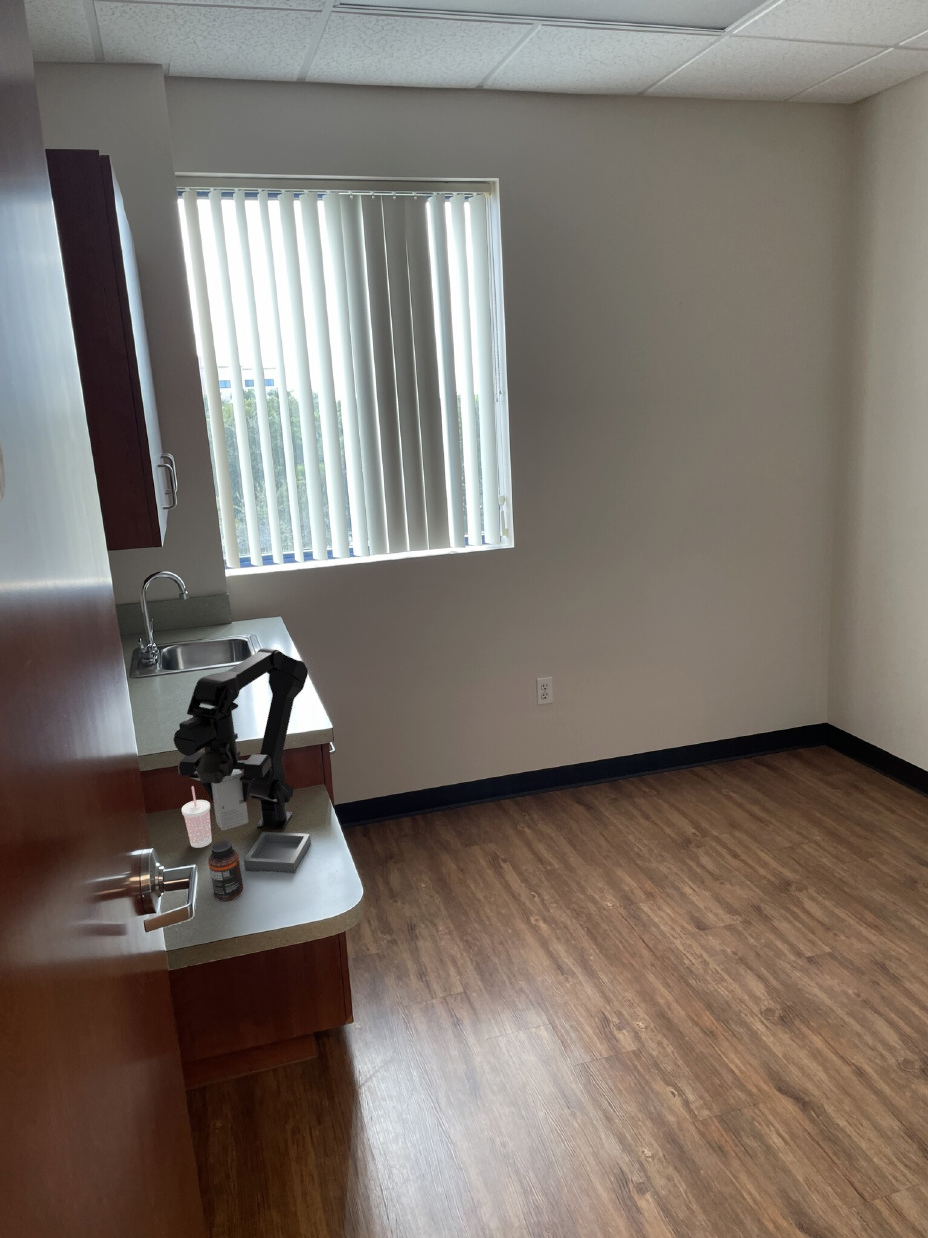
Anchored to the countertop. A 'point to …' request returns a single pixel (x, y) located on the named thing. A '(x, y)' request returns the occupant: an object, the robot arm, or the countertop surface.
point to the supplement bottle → (225, 871)
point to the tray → (277, 852)
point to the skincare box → (230, 802)
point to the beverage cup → (198, 821)
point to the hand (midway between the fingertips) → (229, 800)
